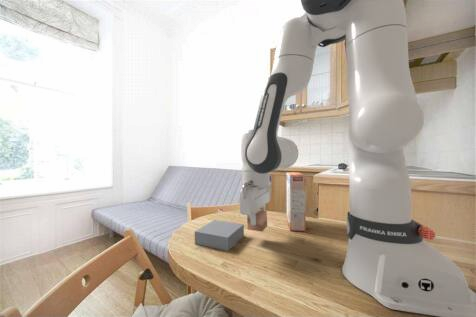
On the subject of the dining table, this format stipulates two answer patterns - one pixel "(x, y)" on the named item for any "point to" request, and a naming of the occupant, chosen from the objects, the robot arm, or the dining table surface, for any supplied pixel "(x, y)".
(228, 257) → the dining table surface
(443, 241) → the dining table surface
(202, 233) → the base
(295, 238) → the dining table surface
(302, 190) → the cracker box
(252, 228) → the cube
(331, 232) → the dining table surface
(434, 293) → the robot arm
